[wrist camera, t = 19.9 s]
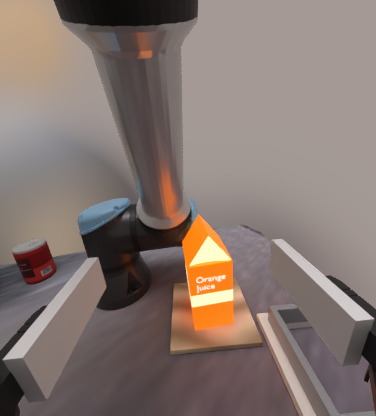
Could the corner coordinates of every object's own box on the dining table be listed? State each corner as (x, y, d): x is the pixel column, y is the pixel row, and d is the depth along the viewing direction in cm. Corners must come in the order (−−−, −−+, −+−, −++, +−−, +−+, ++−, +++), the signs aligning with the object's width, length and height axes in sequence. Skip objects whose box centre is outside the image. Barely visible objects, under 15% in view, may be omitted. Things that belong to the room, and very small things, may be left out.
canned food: (60, 264, 60) (49, 235, 56) (52, 279, 52) (39, 247, 49) (32, 271, 57) (19, 241, 54) (20, 288, 50) (4, 254, 47)
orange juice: (194, 330, 33) (182, 239, 26) (188, 293, 41) (178, 216, 34) (234, 323, 34) (233, 231, 27) (221, 288, 42) (217, 210, 35)
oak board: (174, 286, 46) (174, 283, 45) (235, 281, 46) (235, 278, 45) (170, 354, 30) (170, 351, 30) (262, 346, 30) (262, 342, 30)
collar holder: (256, 319, 35) (257, 300, 34) (345, 311, 35) (350, 291, 34) (326, 479, 18) (335, 454, 17) (498, 462, 18) (523, 436, 17)
